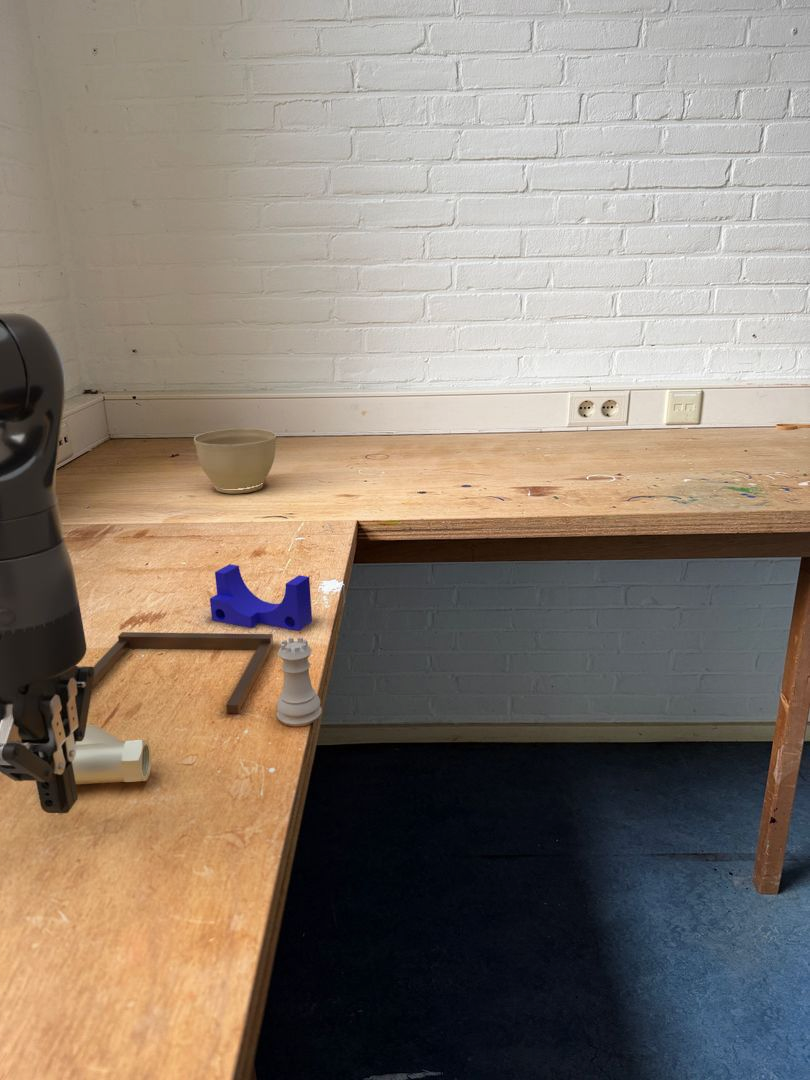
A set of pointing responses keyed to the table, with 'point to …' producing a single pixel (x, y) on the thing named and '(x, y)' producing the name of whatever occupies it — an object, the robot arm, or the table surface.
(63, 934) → the table surface
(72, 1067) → the table surface
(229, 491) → the planter bowl
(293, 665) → the rook chess piece
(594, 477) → the table surface
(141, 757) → the pipe fitting
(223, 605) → the blue saddle bracket
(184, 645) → the frame
